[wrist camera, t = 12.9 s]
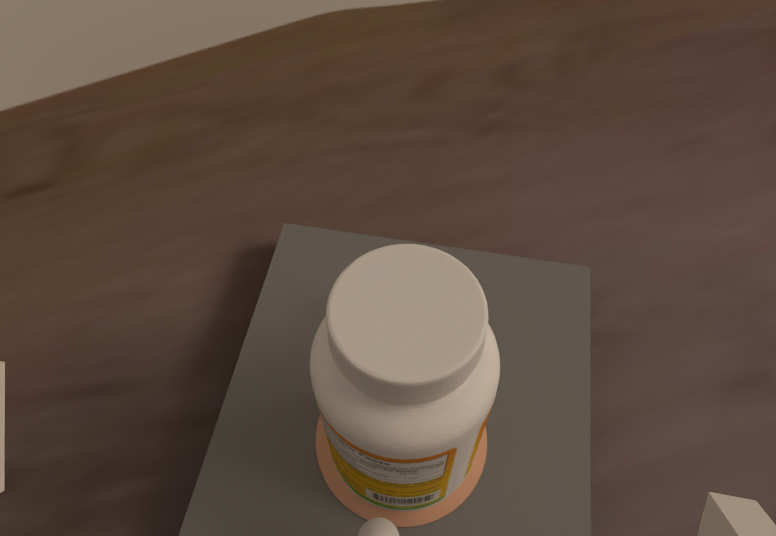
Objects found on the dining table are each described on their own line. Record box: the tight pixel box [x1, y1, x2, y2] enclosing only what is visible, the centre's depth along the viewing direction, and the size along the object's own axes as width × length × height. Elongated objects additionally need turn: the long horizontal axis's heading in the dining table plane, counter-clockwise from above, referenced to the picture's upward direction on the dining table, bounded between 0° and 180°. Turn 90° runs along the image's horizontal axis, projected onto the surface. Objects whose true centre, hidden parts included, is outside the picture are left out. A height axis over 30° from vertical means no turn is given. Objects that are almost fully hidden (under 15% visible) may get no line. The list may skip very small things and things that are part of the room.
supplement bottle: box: [310, 244, 500, 512], centre depth 19 cm, size 5×5×10 cm
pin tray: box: [178, 223, 591, 536], centre depth 22 cm, size 14×18×6 cm
